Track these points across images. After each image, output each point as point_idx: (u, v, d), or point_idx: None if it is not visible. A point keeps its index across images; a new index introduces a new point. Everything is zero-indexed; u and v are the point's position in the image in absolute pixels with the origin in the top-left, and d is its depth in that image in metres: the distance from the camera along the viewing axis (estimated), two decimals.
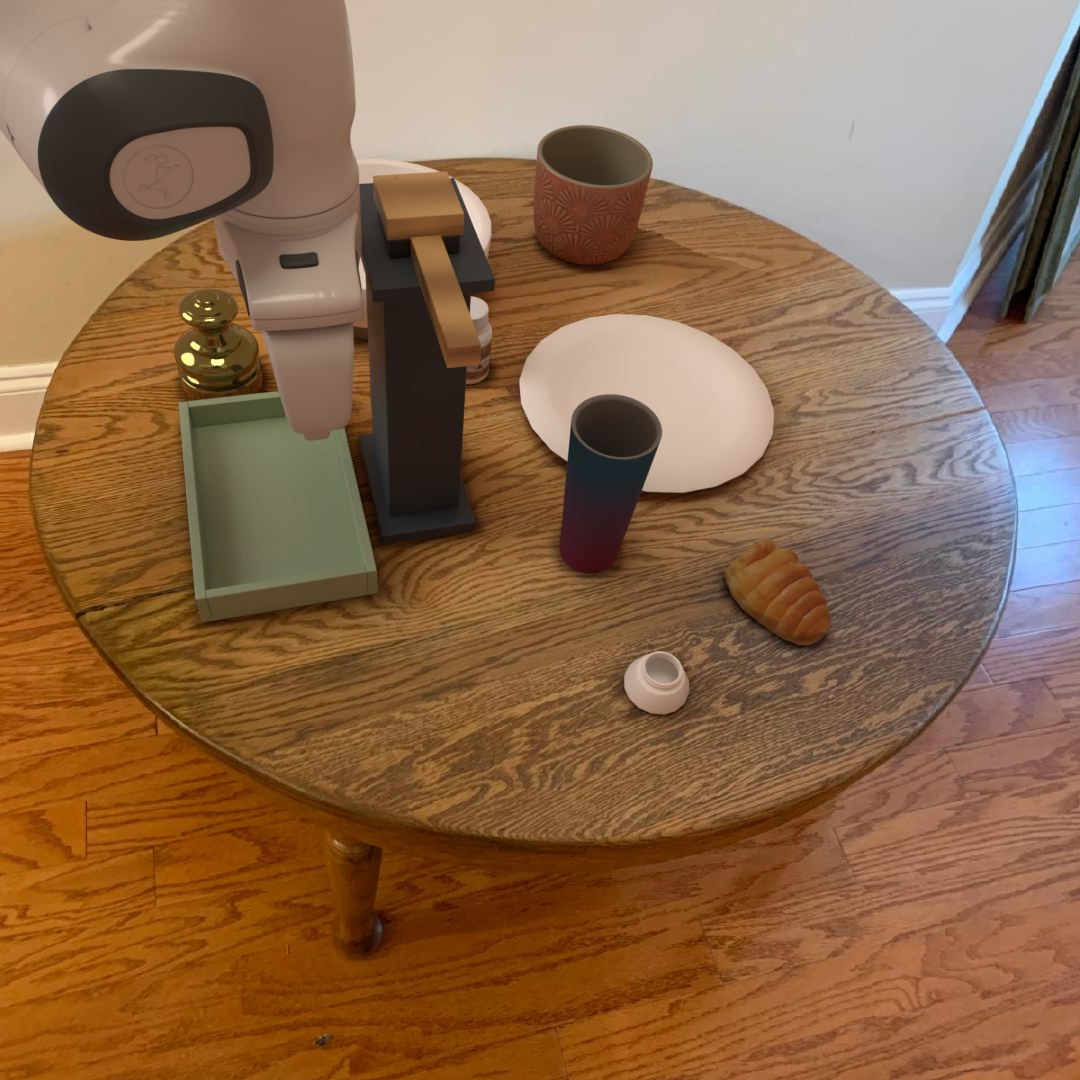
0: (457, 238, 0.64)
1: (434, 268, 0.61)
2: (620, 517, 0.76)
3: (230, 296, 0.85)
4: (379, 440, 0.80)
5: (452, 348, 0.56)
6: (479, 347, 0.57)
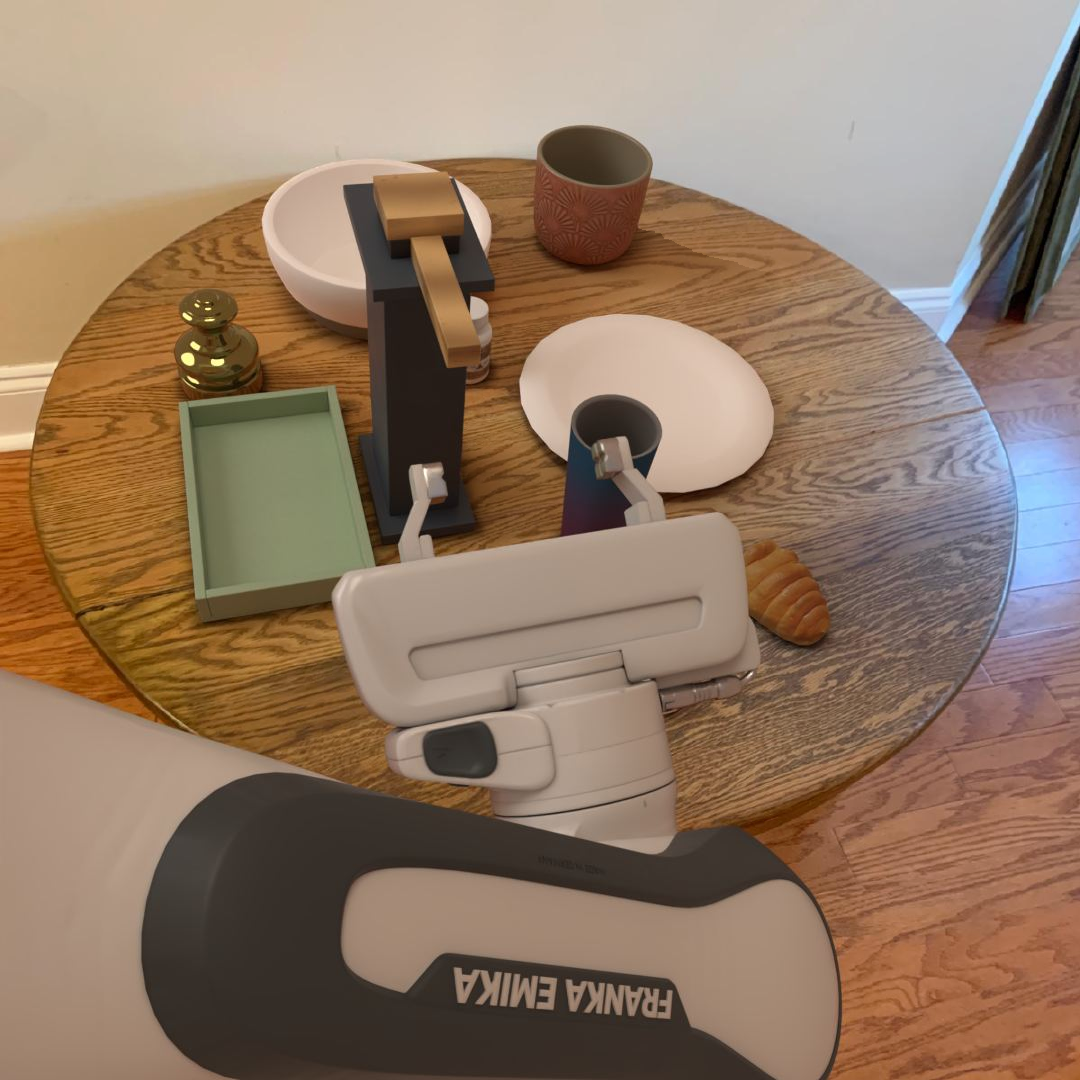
0: (457, 238, 0.64)
1: (434, 268, 0.61)
2: (620, 517, 0.76)
3: (230, 296, 0.85)
4: (379, 440, 0.80)
5: (452, 348, 0.56)
6: (479, 347, 0.57)
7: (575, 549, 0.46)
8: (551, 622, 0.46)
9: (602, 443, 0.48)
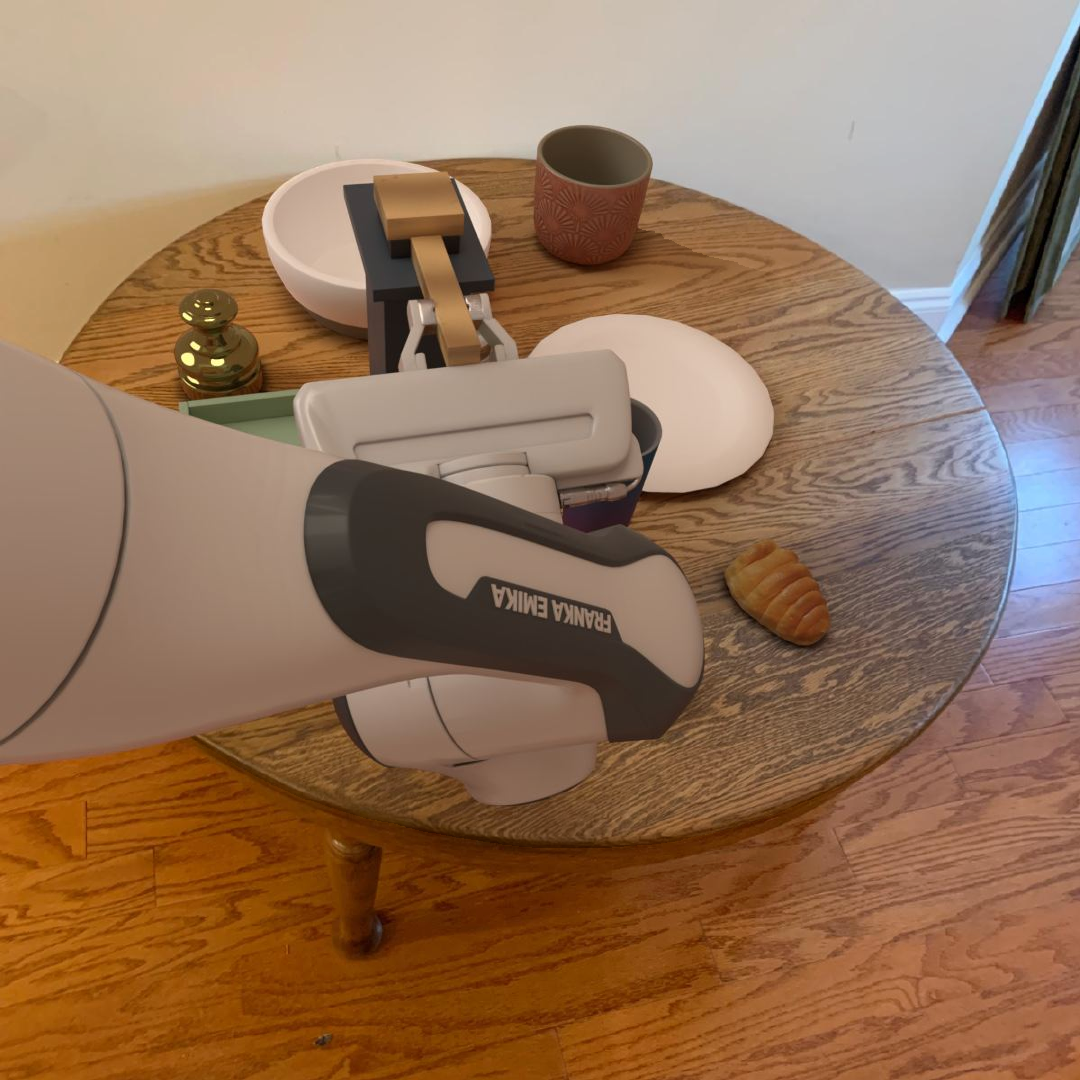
0: (457, 238, 0.64)
1: (434, 268, 0.61)
2: (620, 517, 0.76)
3: (230, 296, 0.85)
4: None
5: (452, 348, 0.56)
6: (479, 347, 0.57)
7: (489, 372, 0.57)
8: (469, 428, 0.57)
9: (466, 297, 0.59)
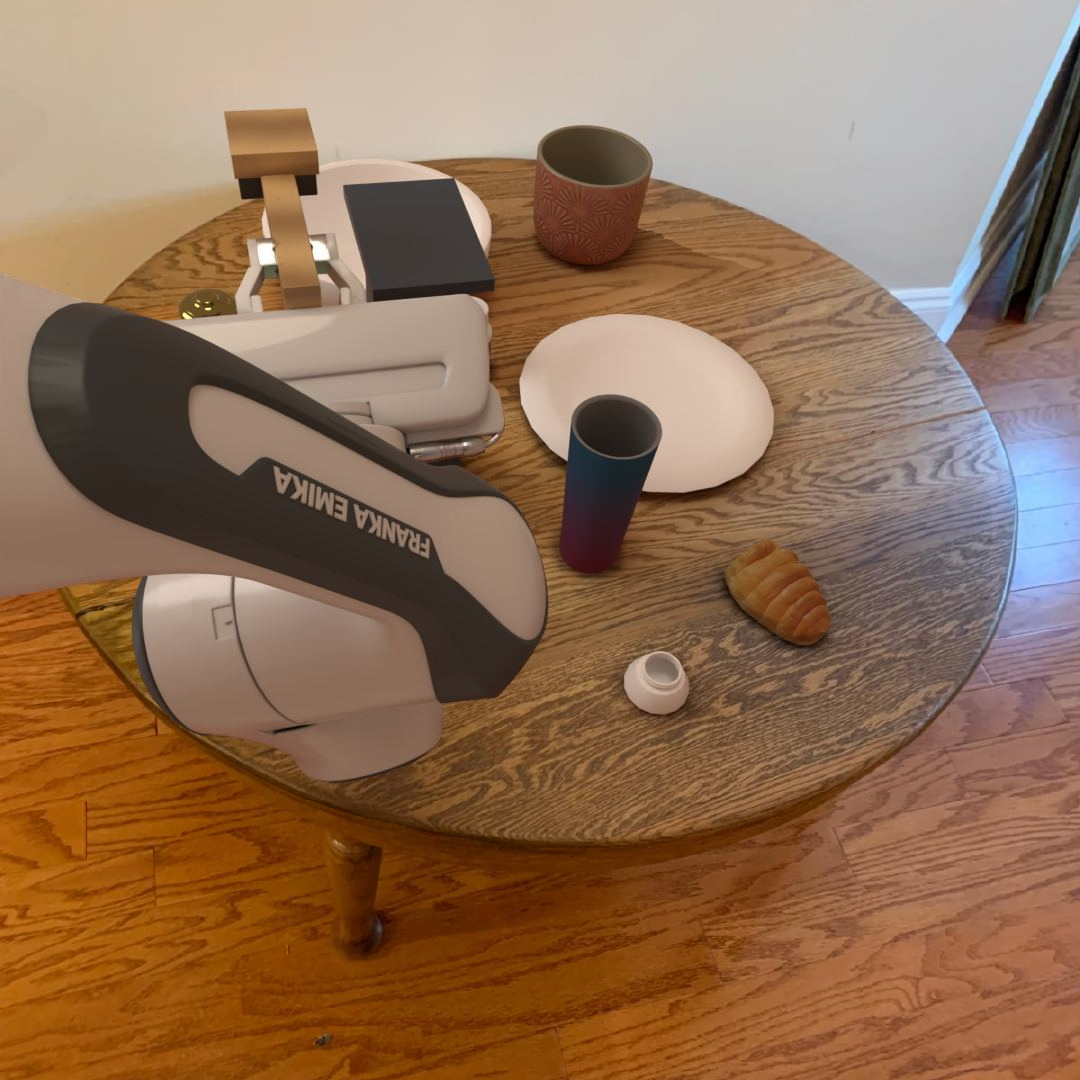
0: (313, 178, 0.59)
1: (281, 207, 0.57)
2: (620, 517, 0.76)
3: (230, 296, 0.85)
4: None
5: (287, 289, 0.52)
6: (318, 288, 0.53)
7: (330, 316, 0.53)
8: (307, 376, 0.53)
9: (310, 237, 0.55)
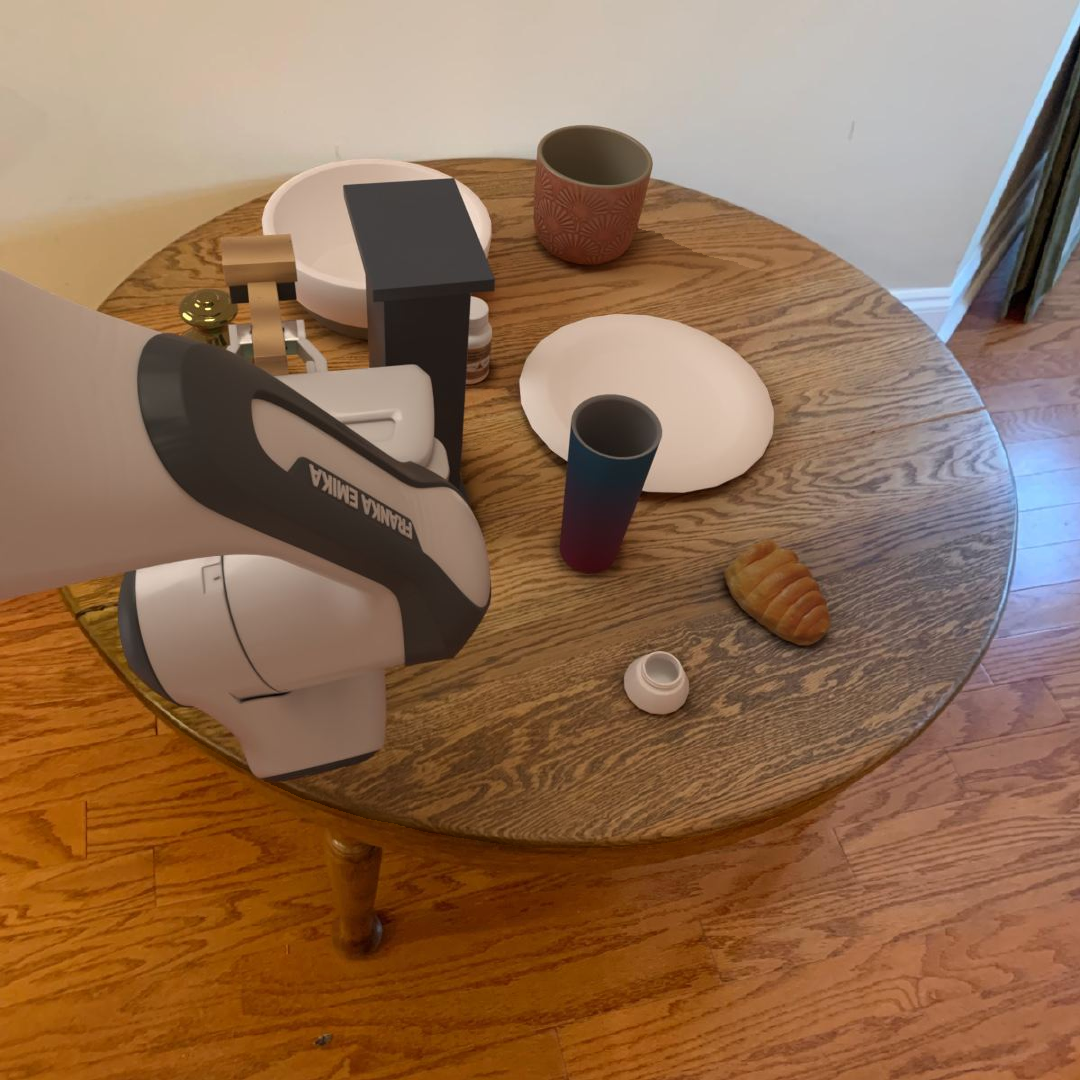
0: (292, 284, 0.70)
1: (261, 303, 0.67)
2: (620, 517, 0.76)
3: None
4: None
5: (258, 357, 0.61)
6: (285, 357, 0.62)
7: (295, 381, 0.62)
8: None
9: (283, 322, 0.65)
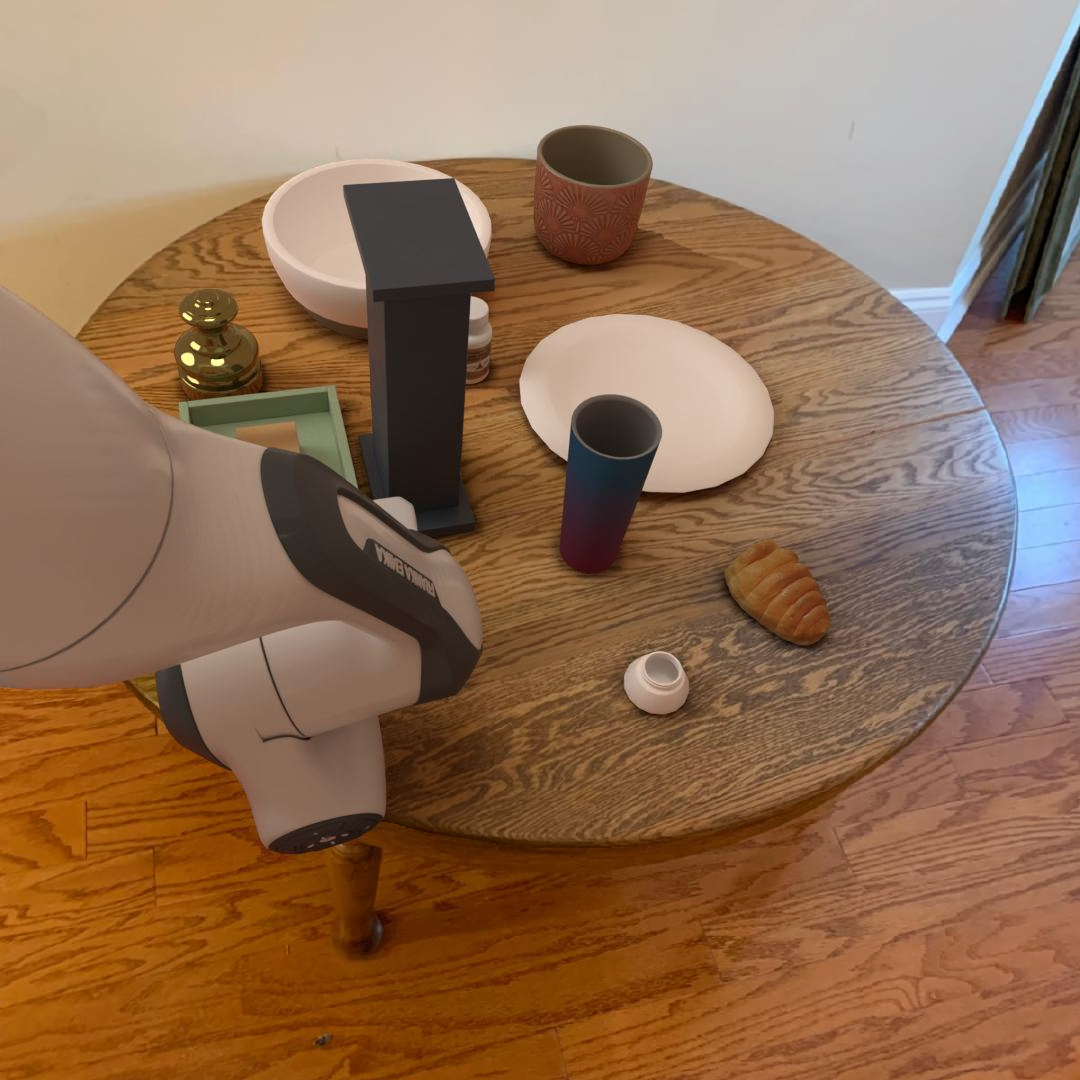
0: None
1: None
2: (620, 517, 0.76)
3: (230, 296, 0.85)
4: (379, 440, 0.80)
5: None
6: None
7: None
8: None
9: None
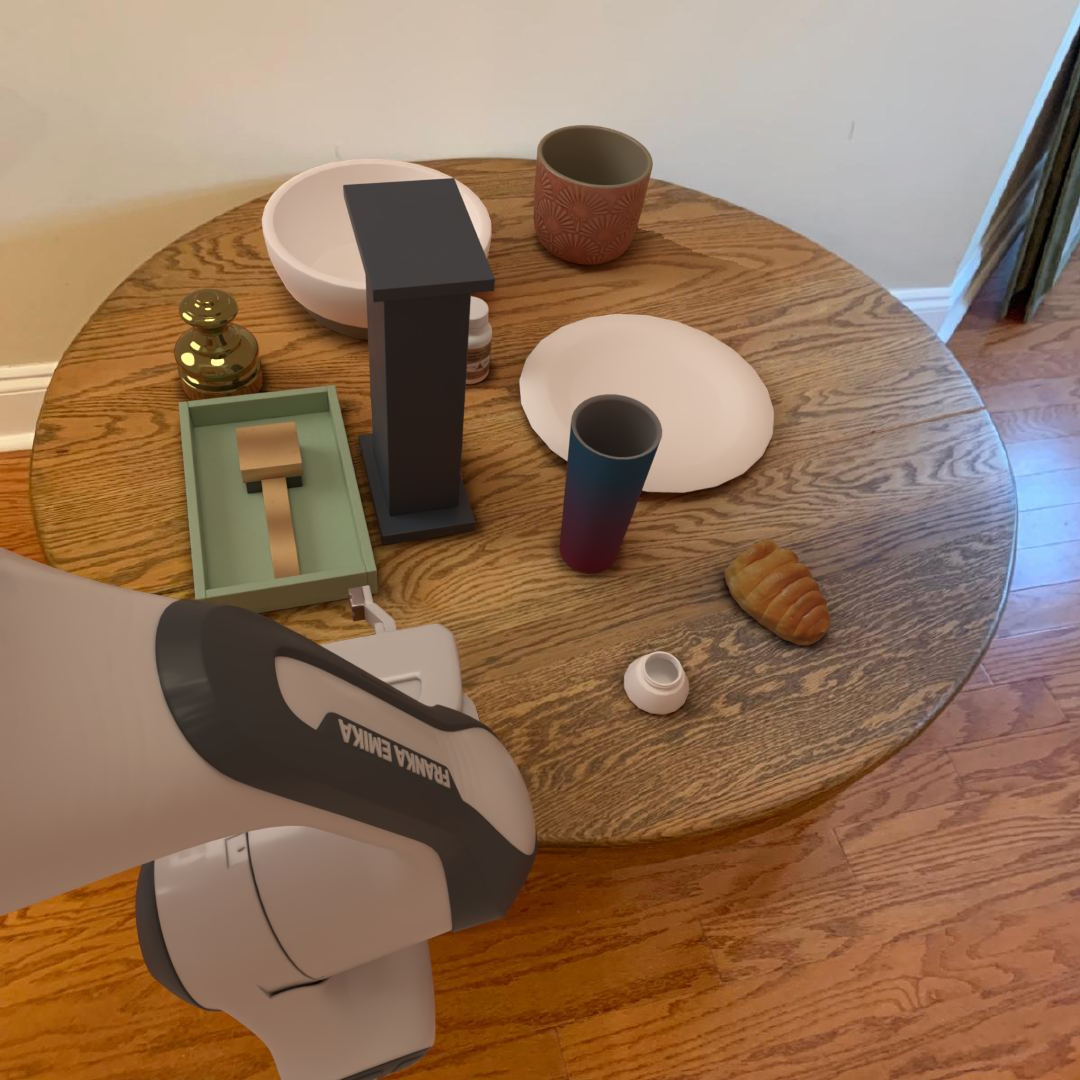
0: (299, 477, 0.83)
1: (275, 509, 0.80)
2: (620, 517, 0.76)
3: (230, 296, 0.85)
4: (379, 440, 0.80)
5: None
6: None
7: None
8: None
9: (349, 589, 0.66)
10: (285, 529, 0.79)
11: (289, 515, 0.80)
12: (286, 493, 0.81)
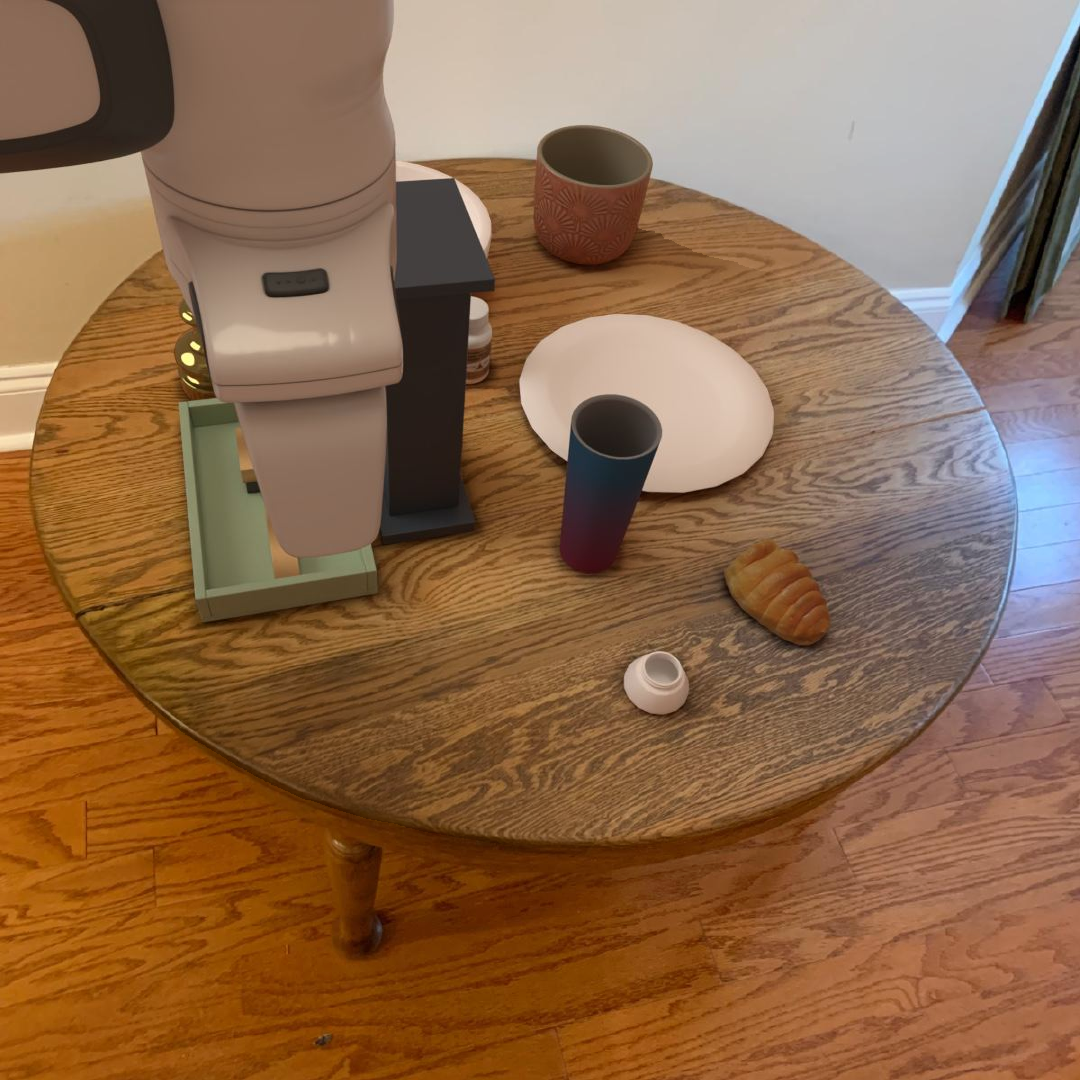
0: None
1: None
2: (620, 517, 0.76)
3: None
4: None
5: None
6: None
7: None
8: None
9: None
10: None
11: None
12: None
